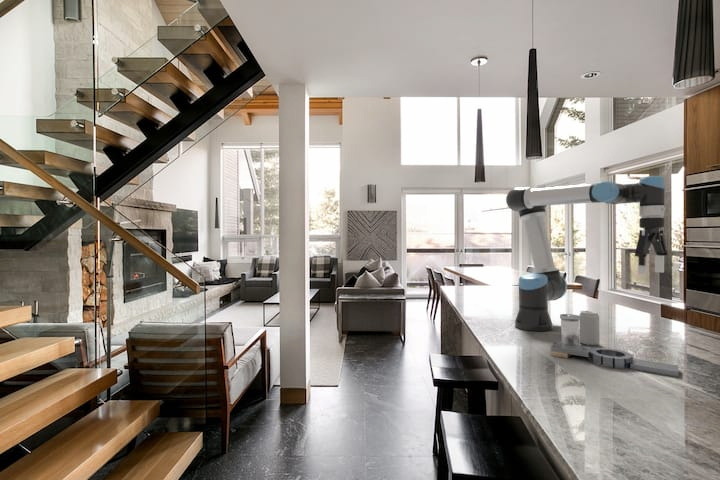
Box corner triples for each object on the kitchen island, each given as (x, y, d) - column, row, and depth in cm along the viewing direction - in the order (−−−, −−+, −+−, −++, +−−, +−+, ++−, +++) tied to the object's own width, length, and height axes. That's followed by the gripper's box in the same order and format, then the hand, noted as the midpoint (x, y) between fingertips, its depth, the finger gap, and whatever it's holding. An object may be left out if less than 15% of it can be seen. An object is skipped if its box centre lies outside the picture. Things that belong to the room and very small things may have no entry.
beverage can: (594, 341, 144) (593, 310, 144) (603, 346, 138) (602, 313, 138) (576, 341, 145) (576, 310, 145) (584, 346, 139) (584, 313, 139)
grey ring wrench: (549, 357, 127) (549, 348, 127) (557, 349, 136) (557, 340, 136) (678, 379, 105) (678, 368, 105) (678, 368, 114) (678, 358, 114)
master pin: (558, 349, 135) (558, 316, 135) (562, 346, 139) (562, 313, 139) (578, 353, 131) (577, 318, 131) (582, 348, 135) (581, 315, 135)
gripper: (648, 216, 134) (647, 276, 135) (677, 217, 147) (677, 272, 148) (624, 217, 141) (624, 274, 141) (655, 218, 154) (654, 270, 154)
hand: (651, 273), depth 144 cm, fingers open, 13 cm apart
